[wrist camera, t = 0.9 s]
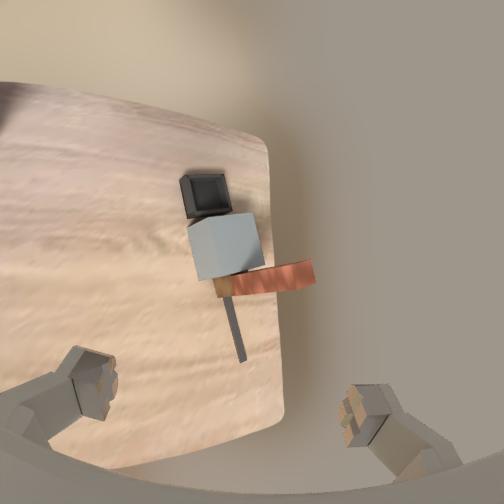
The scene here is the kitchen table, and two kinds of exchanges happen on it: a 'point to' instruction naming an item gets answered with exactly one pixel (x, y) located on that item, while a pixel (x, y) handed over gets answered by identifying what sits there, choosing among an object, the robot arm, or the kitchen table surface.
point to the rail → (234, 329)
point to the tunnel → (225, 245)
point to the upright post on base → (266, 280)
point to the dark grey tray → (205, 195)
